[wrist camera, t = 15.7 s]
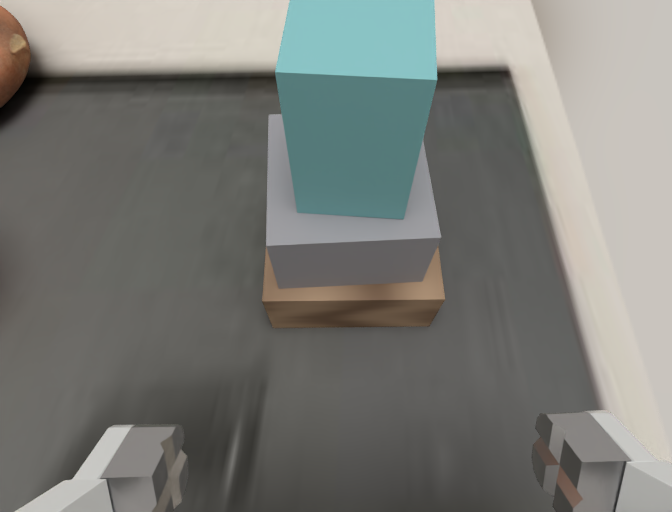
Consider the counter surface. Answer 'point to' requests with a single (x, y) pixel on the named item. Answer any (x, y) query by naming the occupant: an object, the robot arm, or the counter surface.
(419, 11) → the teal block
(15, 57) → the ceramic jug
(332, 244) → the grey top block
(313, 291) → the walnut base block
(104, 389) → the counter surface
